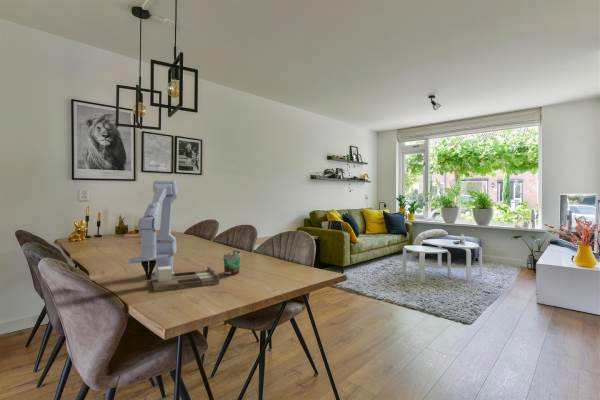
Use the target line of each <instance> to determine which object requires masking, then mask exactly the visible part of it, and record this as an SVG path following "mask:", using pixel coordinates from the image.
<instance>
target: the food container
mask: <svg viewBox="0 0 600 400" xmlns="http://www.w3.org/2000/svg"><path fill="white" fill-rule="evenodd" d="M222 256H223V257H222V258H223V265H224V266H223V269H224V270H223V271H224V272H223V273H224V276H235V275H239V274H240V267H241V258H242V256H243V255H242V252H241V251H240V250H235V249H234V250H233V251H232V252H229V253H228V254H223V255H222ZM238 273H239V274H238Z"/></svg>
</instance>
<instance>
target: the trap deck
mask: <svg viewBox="0 0 600 400" xmlns="http://www.w3.org/2000/svg"><path fill="white" fill-rule="evenodd" d="M151 284H152V288H153V292H154V293H156V292H157V293H158V292H165V291H166V292H167V291H172V290H181V289H188V288H189V289H190V288H196V287H197V288H198V287H204V286H211V285H219V284H220V275H219V274H218V273H217V272H216V271H215V270H214V269H213V268H212V267H211V266H207V269H206V270H205V269H203V270H194V271H184V272H174V273H173V274H172V281H163V282H158V275H155V274H154V275H151Z"/></svg>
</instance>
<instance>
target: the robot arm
mask: <svg viewBox="0 0 600 400" xmlns="http://www.w3.org/2000/svg"><path fill="white" fill-rule="evenodd" d="M152 190H153V198H152V202H151V203H149V204H148V205H147V206H146V209H145V212H144V214H143V216H142V217H140V218H139V219H138V223H137V228H138V232H139V236H140V256H136V257H129V258H127V259H128V264H130V265H131V264H136V263H137V264H138V263H140V264H141V266H142V268H143V271H144V273H145V276H146V281H150V280H151V276H153V272H154V275H158V267H165V266H171V268H172V274H173V273H175V272H174V270H173V269H174V255H176V253H177V249H178V245H177V241H178V240H177V238H176V237H175V236H174V235H173V234H172V223H173V209H174V200H177V199H178V194H179V185H178V182H177V180H174V179H173V180H158V179H156V180H154V181H153V183H152ZM158 230H159V234H157V231H158ZM154 269H155V271H154Z"/></svg>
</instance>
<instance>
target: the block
mask: <svg viewBox="0 0 600 400" xmlns="http://www.w3.org/2000/svg"><path fill="white" fill-rule="evenodd" d="M163 281H172V268H171V266H165V267H158V282H163Z"/></svg>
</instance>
